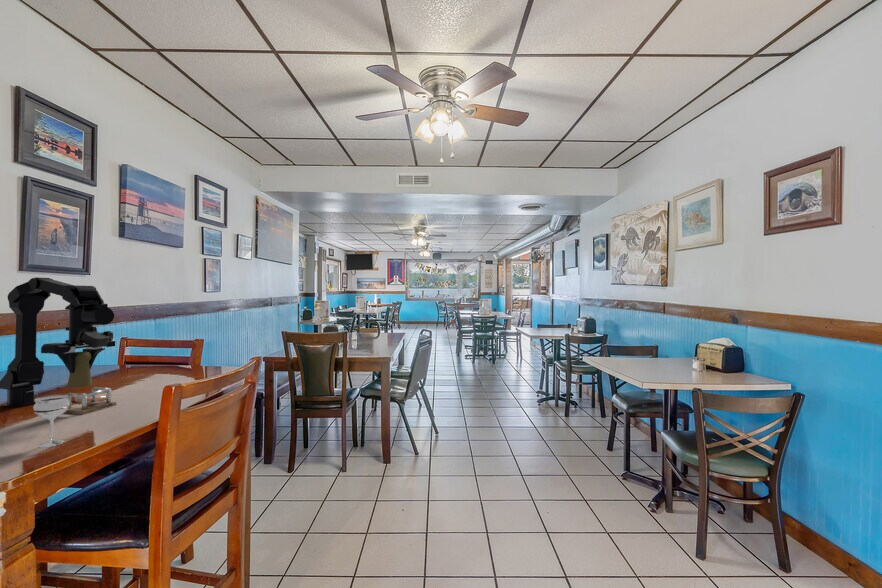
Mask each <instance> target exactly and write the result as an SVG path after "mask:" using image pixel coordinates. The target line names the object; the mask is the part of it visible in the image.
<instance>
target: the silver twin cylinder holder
mask: <svg viewBox="0 0 882 588" xmlns="http://www.w3.org/2000/svg"><path fill="white" fill-rule="evenodd" d="M90 390H91V391H90V392H88V393H77V392H76V393H75V392H68V393H67V394H66V395H70V396H69V398H68V400H69V401H70V405H69V408H68V409H70V408H71V407H72V398H76V397H80V398H82V403H81V408H82V410H87V407H88V406H87V397H90V396H91V402H96V395H98V394H102V393H106V400H105V401H106V403H111V402H112V397H111V394H112V389H111V388H110V387H96V386H95V387H92V388H91V389H90Z"/></svg>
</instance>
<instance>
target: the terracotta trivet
mask: <svg viewBox="0 0 882 588" xmlns="http://www.w3.org/2000/svg"><path fill="white" fill-rule="evenodd" d="M111 396H112V393H111ZM105 399H106V393H102V394H98V395H96V401H101V400H103V401H106V400H105ZM90 401H91V396H90V397H87V402H90ZM74 402H75V403H79V404H82V398H80V397H74Z"/></svg>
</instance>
